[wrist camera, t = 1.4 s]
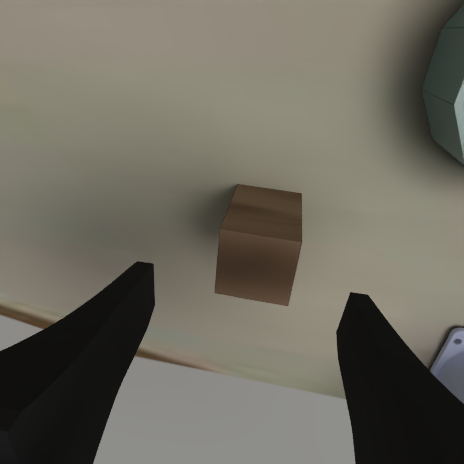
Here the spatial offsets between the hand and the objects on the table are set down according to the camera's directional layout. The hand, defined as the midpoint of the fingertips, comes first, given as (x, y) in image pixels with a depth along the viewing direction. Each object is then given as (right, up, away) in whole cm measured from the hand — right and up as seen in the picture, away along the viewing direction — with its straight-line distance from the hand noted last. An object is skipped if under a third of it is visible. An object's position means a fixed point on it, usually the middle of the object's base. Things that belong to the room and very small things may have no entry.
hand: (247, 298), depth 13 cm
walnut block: (+2, +3, +10) cm, 11 cm away
